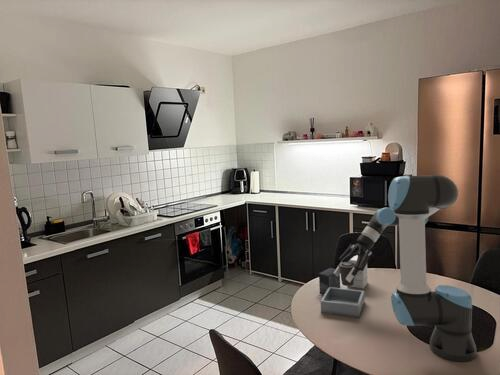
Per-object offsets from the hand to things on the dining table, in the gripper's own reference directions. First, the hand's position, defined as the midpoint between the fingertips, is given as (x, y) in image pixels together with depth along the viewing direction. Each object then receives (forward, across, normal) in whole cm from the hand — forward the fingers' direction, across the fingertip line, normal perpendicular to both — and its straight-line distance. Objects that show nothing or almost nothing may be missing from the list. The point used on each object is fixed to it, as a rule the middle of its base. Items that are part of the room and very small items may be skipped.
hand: (341, 277), depth 177 cm
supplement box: (-6, +18, -27) cm, 33 cm away
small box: (+6, +19, -15) cm, 25 cm away
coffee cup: (0, 0, -5) cm, 5 cm away
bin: (+10, 0, -10) cm, 14 cm away
